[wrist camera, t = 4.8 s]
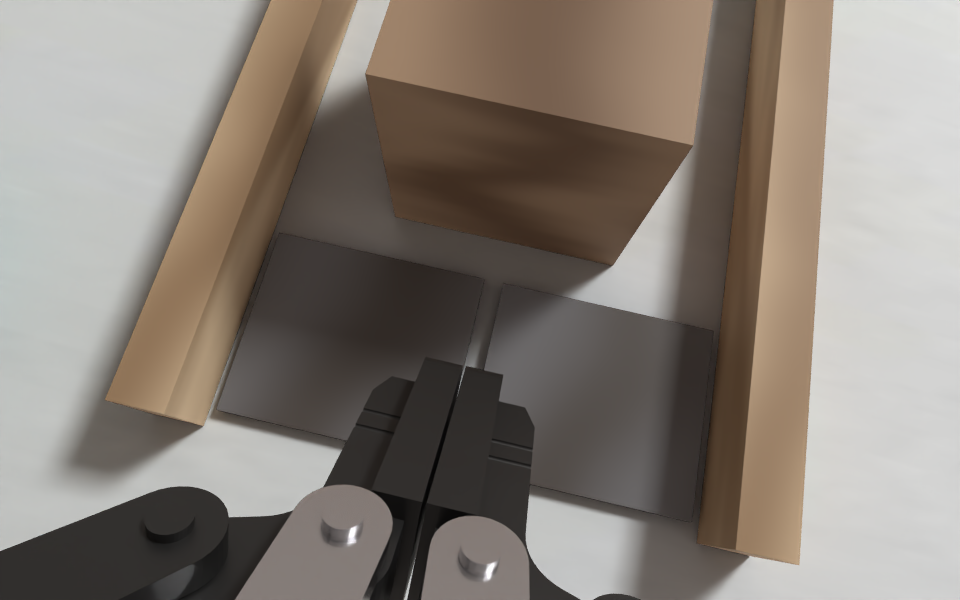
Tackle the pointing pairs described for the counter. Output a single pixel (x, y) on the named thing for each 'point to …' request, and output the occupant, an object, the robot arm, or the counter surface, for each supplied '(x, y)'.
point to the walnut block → (537, 114)
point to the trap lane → (508, 305)
